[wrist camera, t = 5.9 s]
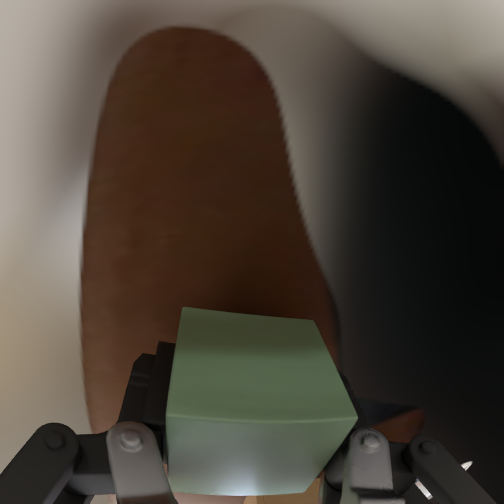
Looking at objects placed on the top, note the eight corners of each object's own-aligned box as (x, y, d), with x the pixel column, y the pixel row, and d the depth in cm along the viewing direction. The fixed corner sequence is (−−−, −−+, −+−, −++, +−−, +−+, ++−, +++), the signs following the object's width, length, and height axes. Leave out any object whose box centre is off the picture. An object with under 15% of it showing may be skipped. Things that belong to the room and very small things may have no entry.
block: (182, 305, 10) (164, 414, 6) (314, 318, 10) (360, 417, 6) (176, 396, 11) (168, 491, 7) (283, 403, 12) (304, 493, 8)
